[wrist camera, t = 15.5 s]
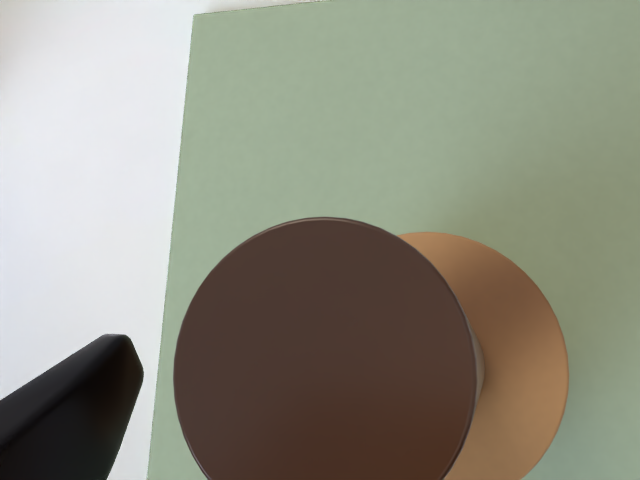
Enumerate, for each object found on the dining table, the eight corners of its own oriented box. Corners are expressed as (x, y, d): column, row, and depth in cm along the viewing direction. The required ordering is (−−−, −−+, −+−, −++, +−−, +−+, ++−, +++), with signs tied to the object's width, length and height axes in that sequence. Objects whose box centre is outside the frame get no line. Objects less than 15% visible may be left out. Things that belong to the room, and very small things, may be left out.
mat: (728, 808, 14) (735, 820, 14) (133, 675, 19) (125, 682, 18) (679, -30, 18) (683, -39, 18) (198, 19, 23) (193, 14, 22)
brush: (604, 398, 16) (955, 508, 4) (409, 525, 17) (202, 952, 5) (460, 213, 18) (400, -89, 6) (291, 334, 19) (-75, 285, 7)
